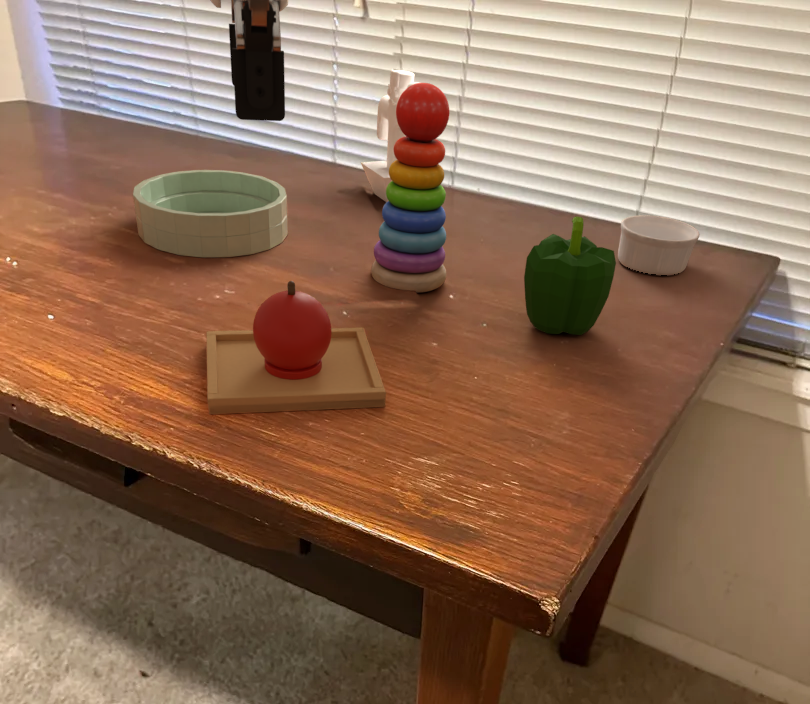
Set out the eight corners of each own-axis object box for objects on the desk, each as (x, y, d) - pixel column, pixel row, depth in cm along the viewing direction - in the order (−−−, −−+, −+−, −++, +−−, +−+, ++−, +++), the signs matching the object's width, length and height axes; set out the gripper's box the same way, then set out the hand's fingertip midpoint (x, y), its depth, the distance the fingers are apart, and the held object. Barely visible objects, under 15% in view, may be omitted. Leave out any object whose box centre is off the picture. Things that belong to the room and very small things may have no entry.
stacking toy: (440, 300, 83) (459, 96, 72) (364, 290, 84) (371, 87, 72) (449, 272, 90) (468, 80, 78) (378, 263, 90) (386, 72, 78)
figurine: (403, 184, 114) (410, 62, 105) (435, 205, 108) (446, 77, 98) (356, 188, 111) (359, 63, 102) (386, 210, 105) (392, 78, 95)
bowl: (135, 263, 86) (128, 215, 83) (143, 212, 98) (137, 169, 95) (293, 262, 89) (292, 215, 86) (281, 213, 101) (280, 170, 98)
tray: (208, 414, 63) (207, 398, 62) (207, 345, 72) (206, 331, 72) (385, 407, 66) (386, 391, 65) (363, 341, 75) (363, 327, 74)
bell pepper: (585, 353, 76) (608, 246, 70) (504, 330, 79) (520, 225, 72) (613, 322, 82) (637, 221, 75) (537, 302, 85) (554, 203, 78)
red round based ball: (257, 386, 66) (252, 298, 61) (253, 350, 71) (248, 266, 66) (335, 383, 67) (336, 296, 62) (326, 348, 72) (326, 265, 67)
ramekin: (626, 245, 100) (634, 209, 97) (697, 262, 97) (708, 225, 94) (602, 266, 94) (610, 228, 91) (677, 285, 91) (688, 246, 88)
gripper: (181, -225, 53) (202, 75, 63) (173, -252, 40) (202, 131, 50) (297, -212, 54) (299, 79, 65) (327, -233, 41) (323, 136, 52)
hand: (256, 102), depth 58 cm, fingers open, 9 cm apart
